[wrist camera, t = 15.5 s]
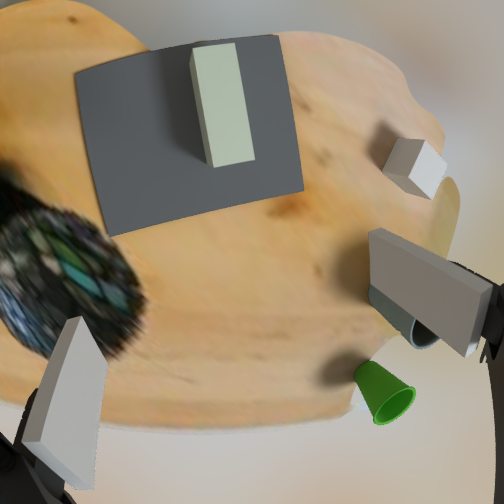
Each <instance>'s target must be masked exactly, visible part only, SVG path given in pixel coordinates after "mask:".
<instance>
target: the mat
mask: <svg viewBox="0 0 504 504" xmlns="http://www.w3.org/2000/svg"><path fill="white" fill-rule="evenodd" d="M229 43H235V48H236V53H237V58H238V64H239V70H240V75H241V81H242V86H243V92H244V98H245V103H246V109H247V115H248V121H249V126H250V132H251V138H252V144H253V150H254V156H255V160H251V161H246V162H240V163H235V164H230V165H225V166H220V167H215V168H213V167H211V166H209V165H207V161H206V156H205V150H204V145H203V140H202V134H201V129H200V123H199V118H198V112H197V107H196V101H195V95H194V89H193V84H192V78H191V72H190V66H189V63H190V58H191V54H192V49H193V48H197V47H204V46H212V45H220V44H229ZM76 83H77V91H78V98H79V105H80V112H81V118H82V124H83V130H84V135H85V140H86V145H87V150H88V155H89V160H90V165H91V169H92V173H93V178H94V182H95V186H96V190H97V194H98V198H99V202H100V205H101V209H102V213H103V216H104V220H105V223H106V227H107V230H108V234H109V237H112V236H116V235H119V234H123V233H127V232H130V231H134V230H138V229H142V228H145V227H149V226H153V225H157V224H161V223H165V222H169V221H173V220H177V219H181V218H185V217H189V216H193V215H197V214H201V213H205V212H209V211H214V210H218V209H222V208H227V207H231V206H235V205H240V204H244V203H249V202H254V201H258V200H263V199H267V198H272V197H277V196H282V195H287V194H292V193H297V192H302V191H304V184H303V177H302V169H301V162H300V155H299V148H298V142H297V135H296V129H295V122H294V116H293V110H292V104H291V98H290V93H289V87H288V82H287V76H286V71H285V66H284V60H283V55H282V50H281V45H280V41H279V36H278V35H274V36H253V37H240V38H229V39H220V40H212V41H205V42H198V43H191V44H186V45H180V46H174V47H169V48H165V49H160V50H155V51H150V52H146V53H142V54H138V55H134V56H130V57H126V58H123V59H119V60H116V61H112V62H109V63H106V64H102V65H99V66H96V67H93V68H90V69H87V70H84V71H82V72H79V73H76Z"/></svg>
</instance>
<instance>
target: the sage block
mask: <svg viewBox="0 0 504 504" xmlns="http://www.w3.org/2000/svg"><path fill="white" fill-rule="evenodd" d="M189 66H190V72H191V78H192V84H193V89H194V95H195V101H196V107H197V112H198V118H199V123H200V129H201V134H202V140H203V145H204V150H205V156H206V161H207V165H209V166H211V167H213V168H215V167H220V166H225V165H230V164H235V163H240V162H246V161H251V160H255V156H254V150H253V144H252V138H251V132H250V126H249V121H248V115H247V109H246V103H245V98H244V92H243V86H242V81H241V75H240V70H239V64H238V58H237V53H236V48H235V43H229V44H220V45H212V46H204V47H197V48H193V49H192V54H191V58H190V63H189Z"/></svg>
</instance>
